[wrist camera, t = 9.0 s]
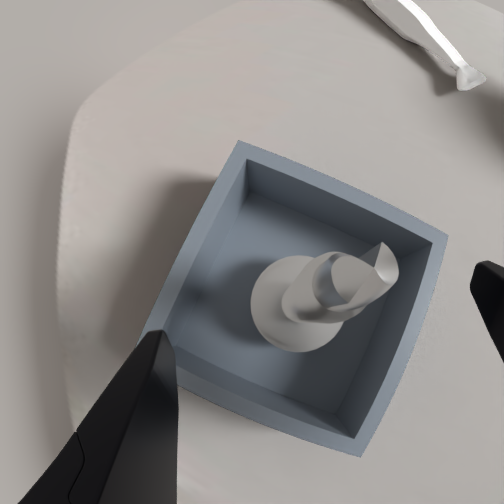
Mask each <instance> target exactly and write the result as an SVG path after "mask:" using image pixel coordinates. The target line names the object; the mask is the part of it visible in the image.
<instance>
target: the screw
mask: <svg viewBox="0 0 504 504" xmlns="http://www.w3.org/2000/svg"><path fill="white" fill-rule="evenodd" d="M398 275H399V269H398V265H397V261H396V258H395V256H394V254H393V253H392V251H391V250H390V249H389V247H388V246H386V245H385V244H384V243H383V242H381V243H379V244H378V245H377V246H375V247H374V248H372V249H371V250H369V251H368V252H367V253H365V254H364V255H362V256H361V257H359V258H356V257H354V256H352V255H349V254H346V253H342V252H328V253H325V254H322V255H320V256H318V257H316V258H313V257H309V256H301V255H296V256H289V257H285V258H283V259H280V260H277V261H276V262H274V263H273V264H271V265H270V266H268V267H267V268H266V269H265V270H264V271H263V272H262V273H261V275H260V276H259V278H258V279H257V281H256V283H255V285H254V288H253V291H252V296H251V314H252V317H253V320H254V323H255V325H256V327H257V329H258V330H259V332H260V333H261V335H262V336H263V337H264V338H265V339H266V340H267V341H268V342H270V343H271V344H273V345H274V346H276V347H278V348H280V349H283V350H285V351H291V352H307V351H311V350H315V349H317V348H319V347H321V346H323V345H325V344H327V343H328V342H329V341H330V340H331V339H332V338H334V336H335V335H336V334H337V332H338V331H339V330H340V328H341V326H342V324H343V322H344V321H346V320H348V319H350V318H352V317H354V316H356V315H357V314H359V313H360V312H361V311H362V310H363V309H364V308H365V307H366V306H367V304H369V303H371V302H373V301H374V300H376V299H377V298H379V297H380V296H382V295H383V294H384V293H385V292H387V291H388V290H389V289H390V288H391V287H392V286H393V285H394V283H395V282H396V281H397V279H398Z"/></svg>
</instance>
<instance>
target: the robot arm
mask: <svg viewBox="0 0 504 504" xmlns="http://www.w3.org/2000/svg"><path fill="white" fill-rule="evenodd" d="M470 291H471V294H472V296H473V298H474V300H475V302H476V304H477V307H478V309H479V311H480V313H481V316H482V318H483V320H484V323H485V325H486V327H487V330H488V332H489V334H490V336H491V338H492V340H493V342H494V344H495V346H496V348H497V350H498V352H499V354H500V356H501V358H502V360H503V362H504V267H502V266H500V265H497V264H495V263H493V262H491V261H482V262H479V263H477V264H476V266H475V269H474V272H473V276H472V279H471V283H470ZM178 413H179V407H178V391H177V376H176V358H175V352H174V349H173V347H172V345H171V343H170V341H169V339H168V337H167V335H166V333H165V331H164V330H162V329H159V330H151V331H148V332H147V333H146V334H145V335H144V337H143V338H142V339H141V341H140V342H139V344H138V345H137V346H136V348H135V349H134V350H133V352H132V353H131V354H130V356H129V357H128V358H127V360H126V361H125V362H124V364H123V365H122V367H121V368H120V369H119V371H118V372H117V373H116V375H115V376H114V377H113V379H112V380H111V382H110V383H109V384H108V386H107V387H106V389H105V390H104V391H103V393H102V394H101V395H100V397H99V398H98V400H97V401H96V402H95V404H94V405H93V407H92V408H91V410H90V411H89V412H88V414H87V415H86V417H85V418H84V419H83V421H82V422H81V424H80V425H79V427H78V428H77V430H76V431H77V432H74V434H73V435H72V436H71V438H70V439H69V441H68V442H67V444H66V445H65V446H64V448H63V449H62V451H61V452H60V453H59V455H58V456H57V457H56V459H55V460H54V461H53V462H52V464H51V465H50V466H49V467H48V469H47V470H46V471H45V472H44V474H43V475H42V476H41V477H40V478H39V480H38V481H37V482H36V483H35V484H34V485H33V487H32V488H31V489H30V490H29V491H28V493H27V494H26V495H25V496H24V498H23V499H22V500H21V501H20V502H19V503H18V504H177V442H178Z"/></svg>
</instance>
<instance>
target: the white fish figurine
mask: <svg viewBox="0 0 504 504" xmlns="http://www.w3.org/2000/svg"><path fill="white" fill-rule="evenodd" d="M363 1H364V2H365V3H366V5H367V6H368V7H369V8H370V9H371V10H372V11H373V12H374V13H375V14H376V15H377V16H379V17H380V18H381V19H382V20H383V21H384V22H385V23H386V24H387V25H388V26H389V27H390V28H392V29H393V30H394V31H395V32H396V33H398V34H399V35H400V36H401V37H402V38H403V39H405V40H408V41H411V42H413V43H416V44H418V45H420V46H422V47H424V48H425V49H427V50H428V51H430V52H432V53H433V54H435V55H436V56H437V57H439V58H440V59H441V60H443V61H444V62H445V63H447V64H448V65H449V66H451V67H452V68H453V69H454V70H455V71H456V79H457V89H458V90H459V91H466V90H470V89H472V88H474V87H476V86H478V85H480V84H482V83H484V82H485V81H486V78H487V77H486V76H485V75H484V74H483V73H481V72H480V71H478V70H476V69H475V68H473V67H471V66H470V65H468V64H467V63H466V62H465V61H464V60H463V59H462V57H461V56H460V54H459V53H458V52H457V50H456V49H455V48H454V47H453V46H452V45H451V43H450V42H449V41H448V40H447V39H446V38H445V37H444V35H443V34H442V33H441V32H440V31H439V30H438V29H437V27H436V26H435V25H434V23H433V22H432V21H431V19H430V18H429V17H428V15H427V14H426V13H425V12H424V11H422V10H421V9H420V8H419V7H418V6H417V5H416V4H415V3H414V2H413V1H411V0H363Z"/></svg>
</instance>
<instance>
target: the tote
mask: <svg viewBox="0 0 504 504" xmlns="http://www.w3.org/2000/svg"><path fill="white" fill-rule="evenodd" d="M447 240H448V235H447V234H445V233H443V232H442V231H440V230H438V229H436V228H434V227H433V226H431V225H429V224H427V223H425V222H423V221H421V220H419V219H418V218H416V217H414V216H412V215H410V214H408V213H406V212H404V211H402V210H400V209H398V208H396V207H394V206H392V205H390V204H388V203H386V202H384V201H382V200H380V199H378V198H376V197H374V196H372V195H370V194H367V193H365V192H363V191H361V190H359V189H357V188H355V187H352V186H350V185H348V184H346V183H344V182H341V181H339V180H337V179H335V178H332V177H330V176H328V175H325V174H323V173H321V172H319V171H316V170H314V169H311V168H309V167H307V166H304V165H302V164H299V163H297V162H295V161H292V160H290V159H287V158H285V157H282V156H280V155H277V154H274V153H272V152H269V151H267V150H264V149H261V148H259V147H256V146H253V145H251V144H248V143H245V142H242V141H240V140H238V142H237V144H236V146H235V147H234V149H233V151H232V153H231V155H230V156H229V158H228V160H227V162H226V164H225V165H224V167H223V169H222V171H221V173H220V175H219V176H218V178H217V180H216V182H215V184H214V186H213V188H212V189H211V191H210V193H209V195H208V197H207V199H206V201H205V203H204V205H203V206H202V208H201V210H200V212H199V214H198V216H197V218H196V220H195V222H194V224H193V226H192V228H191V230H190V232H189V234H188V236H187V238H186V240H185V242H184V244H183V246H182V248H181V250H180V252H179V254H178V256H177V258H176V260H175V262H174V264H173V266H172V268H171V270H170V272H169V274H168V276H167V279H166V281H165V283H164V285H163V287H162V289H161V291H160V293H159V296H158V298H157V300H156V302H155V304H154V306H153V309H152V311H151V313H150V315H149V317H148V320H147V322H146V324H145V326H144V329H143V331H142V333H141V335H140V338H139V340H138V342H137V344H136V346H137V345H138V344H139V342H140V341H141V339H142V338H143V337H144V335H145V334H146V333H147V332H148V331H151V330H159V329H162V330H164V331H165V333H166V335H167V337H168V339H169V341H170V343H171V345H172V347H173V349H174V352H175V358H176V376H177V385H178V386H180V387H182V388H184V389H186V390H188V391H190V392H192V393H194V394H196V395H198V396H200V397H202V398H204V399H206V400H208V401H211V402H213V403H215V404H217V405H219V406H221V407H223V408H226V409H228V410H230V411H232V412H235V413H237V414H239V415H241V416H244V417H246V418H248V419H251V420H253V421H256V422H258V423H260V424H263V425H265V426H268V427H271V428H273V429H276V430H278V431H281V432H284V433H286V434H289V435H292V436H294V437H297V438H300V439H303V440H306V441H309V442H312V443H315V444H318V445H321V446H324V447H327V448H330V449H333V450H336V451H340V452H343V453H347V454H350V455H354V456H357V457H361V456H362V454H363V453H364V451H365V449H366V447H367V446H368V444H369V442H370V440H371V438H372V436H373V435H374V433H375V431H376V429H377V427H378V425H379V423H380V421H381V419H382V417H383V415H384V413H385V411H386V409H387V407H388V405H389V403H390V401H391V399H392V397H393V395H394V393H395V391H396V388H397V386H398V384H399V382H400V379H401V377H402V375H403V373H404V370H405V368H406V366H407V363H408V361H409V358H410V356H411V353H412V351H413V348H414V346H415V343H416V340H417V338H418V335H419V332H420V330H421V327H422V324H423V321H424V319H425V316H426V313H427V310H428V307H429V304H430V301H431V297H432V294H433V291H434V288H435V284H436V281H437V278H438V274H439V271H440V267H441V263H442V260H443V256H444V252H445V248H446V244H447ZM381 242H383V243H384V244H385V245H386V246H388V247H389V249H390V250H391V251H392V253H393V254H394V256H395V258H396V261H397V265H398V269H399V275H398V279H397V281H396V282H395V283H394V285H393V286H392V287H391V288H390V289H389V290H388V291H387V292H385V293H384V294H383V295H382V296H380V297H379V298H377V299H376V300H374V301H373V302H371V303H369V304H367V306H366V307H365V308H364V309H363V310H362V311H361V312H360V313H359V314H357V315H356V316H354V317H352V318H350V319H348V320H346V321H344V322H343V324H342V326H341V328H340V330H339V331H338V332H337V334H336V335H335V336H334V338H332V339H331V340H330V341H329V342H328V343H327V344H325V345H323V346H321V347H319V348H317V349H315V350H311V351H307V352H291V351H285V350H283V349H280V348H278V347H276V346H274V345H273V344H271V343H270V342H268V341H267V340H266V339H265V338H264V337H263V336H262V335H261V333H260V332H259V330H258V329H257V327H256V325H255V323H254V320H253V317H252V314H251V296H252V291H253V288H254V285H255V283H256V281H257V279H258V278H259V276H260V275H261V273H262V272H263V271H264V270H265V269H266V268H267V267H268V266H270V265H271V264H273V263H274V262H276V261H277V260H280V259H283V258H285V257H289V256H296V255H301V256H309V257H313V258H316V257H318V256H320V255H322V254H325V253H328V252H342V253H346V254H349V255H352V256H354V257H356V258H359V257H361V256H362V255H364V254H365V253H367V252H368V251H369V250H371V249H372V248H374V247H375V246H377V245H378V244H379V243H381ZM135 348H136V347H135Z"/></svg>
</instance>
